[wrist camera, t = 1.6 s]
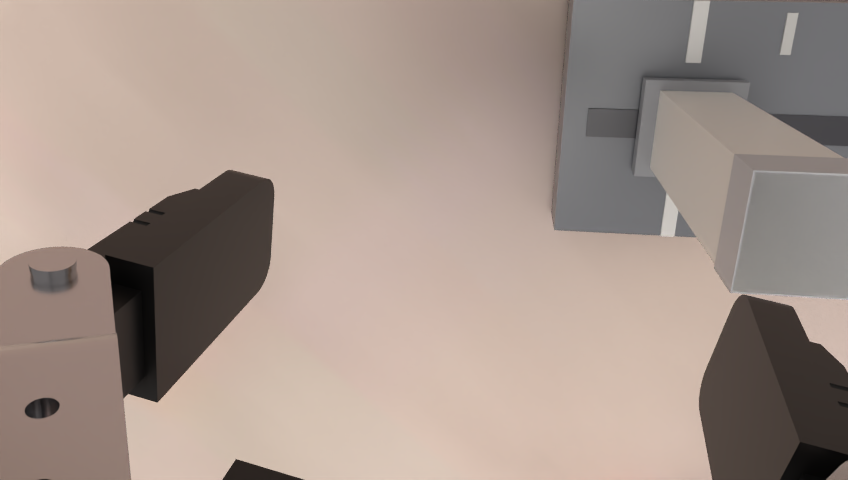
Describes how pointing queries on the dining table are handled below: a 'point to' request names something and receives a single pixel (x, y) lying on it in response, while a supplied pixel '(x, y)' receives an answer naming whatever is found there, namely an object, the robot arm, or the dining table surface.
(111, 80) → the dining table surface
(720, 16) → the fader console
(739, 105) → the fader tab
